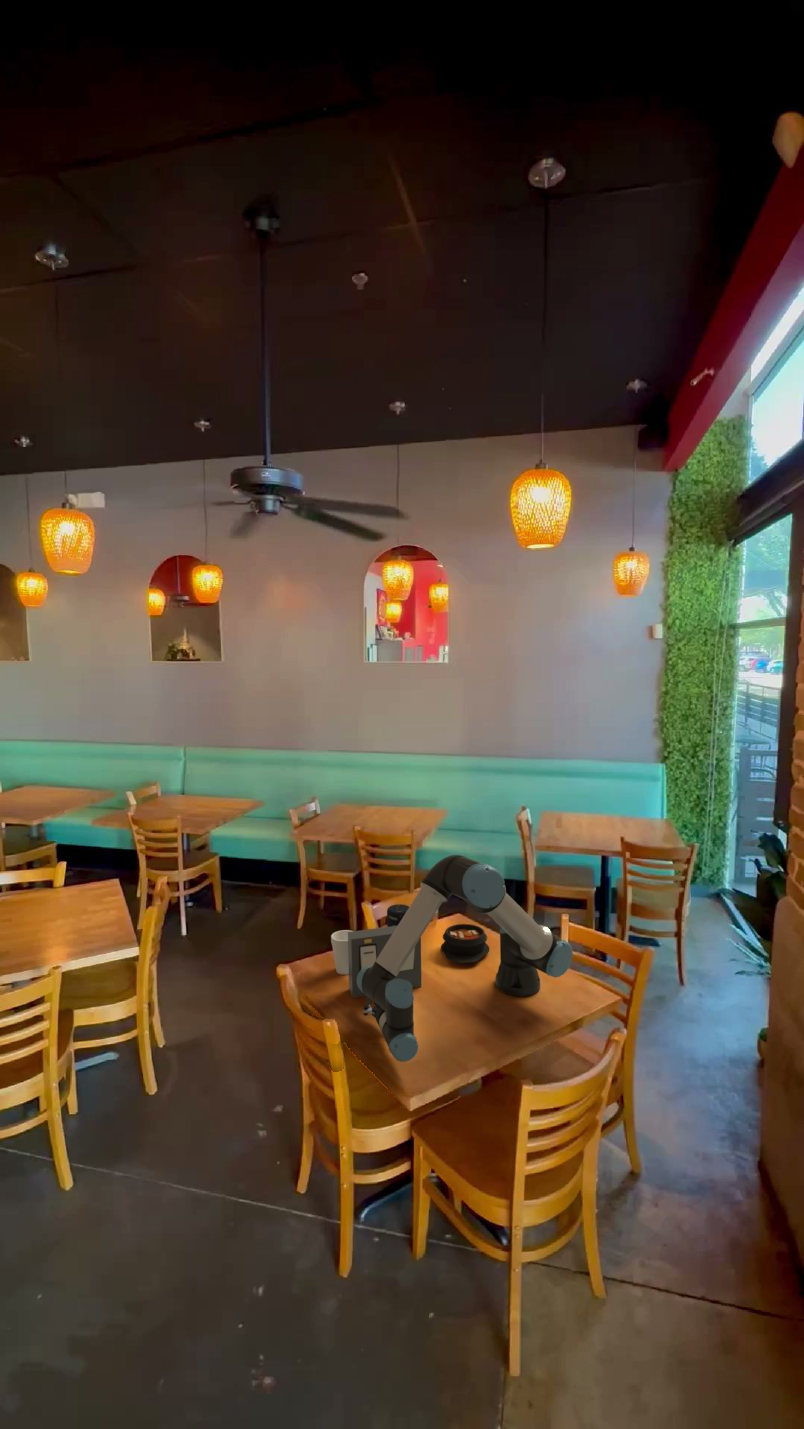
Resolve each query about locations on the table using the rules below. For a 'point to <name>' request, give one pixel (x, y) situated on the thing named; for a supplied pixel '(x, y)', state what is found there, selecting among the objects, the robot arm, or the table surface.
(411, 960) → the right rocker
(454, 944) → the casserole
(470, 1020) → the table surface
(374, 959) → the left rocker
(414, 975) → the switch panel
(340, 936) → the foam cup
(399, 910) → the canister
